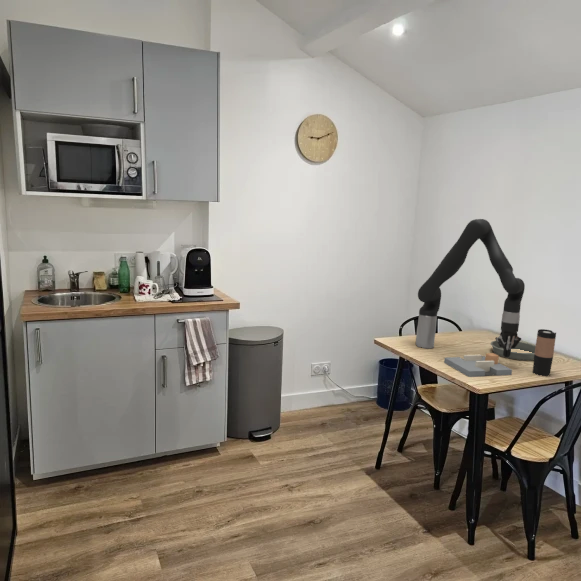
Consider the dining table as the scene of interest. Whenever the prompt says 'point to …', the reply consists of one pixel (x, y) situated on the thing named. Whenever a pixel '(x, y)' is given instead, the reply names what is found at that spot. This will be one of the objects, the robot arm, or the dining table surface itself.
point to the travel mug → (544, 352)
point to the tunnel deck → (477, 366)
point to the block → (492, 357)
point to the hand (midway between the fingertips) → (506, 356)
